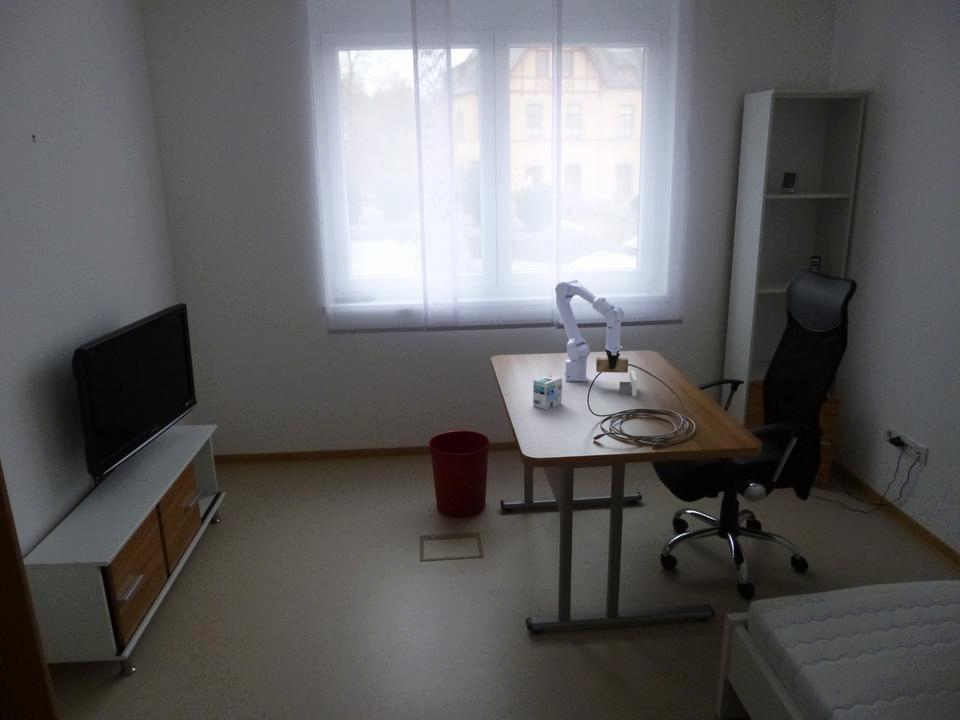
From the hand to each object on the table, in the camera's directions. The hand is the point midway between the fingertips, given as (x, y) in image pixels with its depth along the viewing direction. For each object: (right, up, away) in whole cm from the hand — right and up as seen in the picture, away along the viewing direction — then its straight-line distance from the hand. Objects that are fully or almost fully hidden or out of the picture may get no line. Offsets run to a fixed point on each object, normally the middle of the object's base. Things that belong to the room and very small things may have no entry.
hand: (611, 367), depth 293 cm
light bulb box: (-29, -15, -20) cm, 38 cm away
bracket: (+5, -10, -4) cm, 12 cm away
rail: (0, -2, 0) cm, 2 cm away
